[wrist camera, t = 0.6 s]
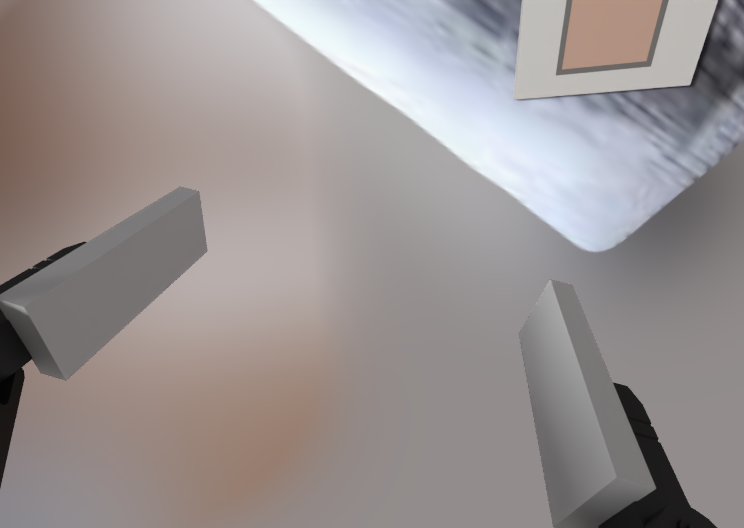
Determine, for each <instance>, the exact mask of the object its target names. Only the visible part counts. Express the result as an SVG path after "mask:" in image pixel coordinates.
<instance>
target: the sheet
mask: <svg viewBox="0 0 744 528" xmlns="http://www.w3.org/2000/svg"><path fill="white" fill-rule="evenodd" d="M717 2H718V0H522V5H521V16H520V27H519V38H518V49H517V60H516V71H515V81H514V92H513V99H514V100H517V99H529V98H541V97H553V96H565V95H577V94H589V93H601V92H613V91H625V90H637V89H649V88H661V87H673V86H685V85H690V84H691V81H692V78H693V75H694V72H695V69H696V65H697V62H698V59H699V56H700V53H701V50H702V47H703V44H704V41H705V38H706V35H707V32H708V29H709V26H710V23H711V20H712V17H713V14H714V11H715V8H716V5H717Z"/></svg>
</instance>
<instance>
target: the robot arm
mask: <svg viewBox="0 0 744 528" xmlns="http://www.w3.org/2000/svg"><path fill="white" fill-rule="evenodd" d="M206 252H207V245H206V237H205V230H204V223H203V215H202V209H201V201H200V194H199V191H196V190H192V189H188V188H184V187H179V188H177V189H175V190H174V191H172V192H171V193H169V194H167V195H165V196H164V197H162V198H160V199H159V200H157V201H155V202H154V203H152V204H150V205H149V206H147V207H145V208H144V209H142V210H140V211H139V212H137V213H135V214H134V215H132V216H130V217H129V218H127V219H125V220H124V221H122V222H120V223H119V224H117V225H115V226H114V227H112V228H110V229H109V230H107V231H105V232H104V233H102V234H100V235H99V236H97V237H95V238H94V239H92V240H90V241H89V242H82V243H79V244H76V245H73V246H70V247H67V248H64V249H62V250H60V251H59V252H57V253H55V254H54V255H52V256H50V257H48V258H47V260H46V261H44V260H43V261H41V262H40V263H38V264H36V265H34V266H33V268H32V269H28V270H26V271H24V272H22V273H21V274H19V275H17V276H16V277H14V278H12V279H10V280H9V281H7V282H5V283H4V284H2V285H0V487H1V482H2V478H3V473H4V469H5V464H6V459H7V455H8V451H9V446H10V441H11V437H12V432H13V428H14V423H15V419H16V414H17V410H18V405H19V401H20V396H21V392H22V387H23V382H24V378H25V377H24V370H23V369H22V367H23V366H24V365H25V364H26V363H28V362H29V361H30V360H31V359H32V360H33V361H34V363H35V365H36V366H37V367H38V369H39V371H40V372H41V373H43V374H46V375H49V376H53V377H56V378H59V379H62V380H67V379H69V378H70V377H71V376H72V375H73V374H74V373H75V372H76V371H77V370H78V369H79V368H80V367H82V366H83V365H84V364H85V363H86V362H87V361H88V360H89V359H90V358H91V357H93V356H94V355H95V354H96V353H97V352H98V351H99V350H100V349H101V348H102V347H103V346H105V344H107V343H108V342H109V341H110V340H111V339H112V338H113V337H114V336H115V335H116V334H118V333H119V332H120V331H121V330H122V329H123V328H124V327H125V326H126V325H127V324H129V322H131V321H132V320H133V319H134V318H135V317H136V316H137V315H138V314H139V313H140V312H142V311H143V310H144V309H145V308H146V307H147V306H148V305H149V304H150V303H151V302H152V301H154V300H155V299H156V298H157V297H158V296H159V295H160V294H161V293H162V292H163V291H165V290H166V289H167V288H168V287H169V286H170V285H171V284H172V283H173V282H174V281H175V280H177V279H178V278H179V277H180V276H181V275H182V274H183V273H184V272H185V271H186V270H187V269H189V268H190V267H191V266H192V265H193V264H194V263H195V262H196V261H197V260H198V259H199V258H200V257H202V256H203V255H204V254H205V253H206ZM519 338H520V344H521V349H522V355H523V360H524V366H525V372H526V377H527V383H528V388H529V394H530V399H531V405H532V411H533V417H534V422H535V428H536V434H537V439H538V445H539V450H540V456H541V462H542V467H543V473H544V479H545V484H546V490H547V495H548V501H549V507H550V512H551V517H552V523H553V527H554V528H717V527H716V526H715V525H714V524H713V523H712V522H711V521H710V520H709V519H708V518H706V517H705V516H703V515H702V514H700V513H699V512H697V511H696V510H694V509H693V508H691V507H690V505H689V503H688V501H687V499H686V497H685V495H684V492H683V490H682V488H681V486H680V484H679V482H678V480H677V478H676V475H675V473H674V471H673V469H672V467H671V465H670V462H669V460H668V458H667V456H666V454H665V452H664V449H663V448H662V445H661V443H659V442H658V437H657V435H656V432H655V430H654V428H653V427H651V422H650V419H649V417H648V415H647V413H646V411H645V409H644V407H643V405H642V403H641V402H640V401H639V400H638V399H637V397H636V396H635V395H634V394H633V392H632V391H631V390H630V389H629V388H628V387H627V386H624V385H621V384H617V383H613V382H612V380H611V377H610V375H609V372H608V370H607V367H606V365H605V363H604V360H603V358H602V355H601V353H600V350H599V348H598V346H597V343H596V341H595V338H594V336H593V333H592V331H591V329H590V326H589V324H588V321H587V319H586V316H585V314H584V312H583V309H582V307H581V304H580V302H579V300H578V297H577V295H576V292H575V290H574V287H573V285H571V284H567V283H563V282H559V281H555V280H550V281H549V282H548V284H547V286H546V288H545V289H544V291H543V293H542V294H541V296H540V298H539V299H538V301H537V303H536V305H535V306H534V308H533V310H532V311H531V313H530V315H529V316H528V318H527V320H526V322H525V323H524V325H523V327H522V328H521V330H520V332H519Z"/></svg>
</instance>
